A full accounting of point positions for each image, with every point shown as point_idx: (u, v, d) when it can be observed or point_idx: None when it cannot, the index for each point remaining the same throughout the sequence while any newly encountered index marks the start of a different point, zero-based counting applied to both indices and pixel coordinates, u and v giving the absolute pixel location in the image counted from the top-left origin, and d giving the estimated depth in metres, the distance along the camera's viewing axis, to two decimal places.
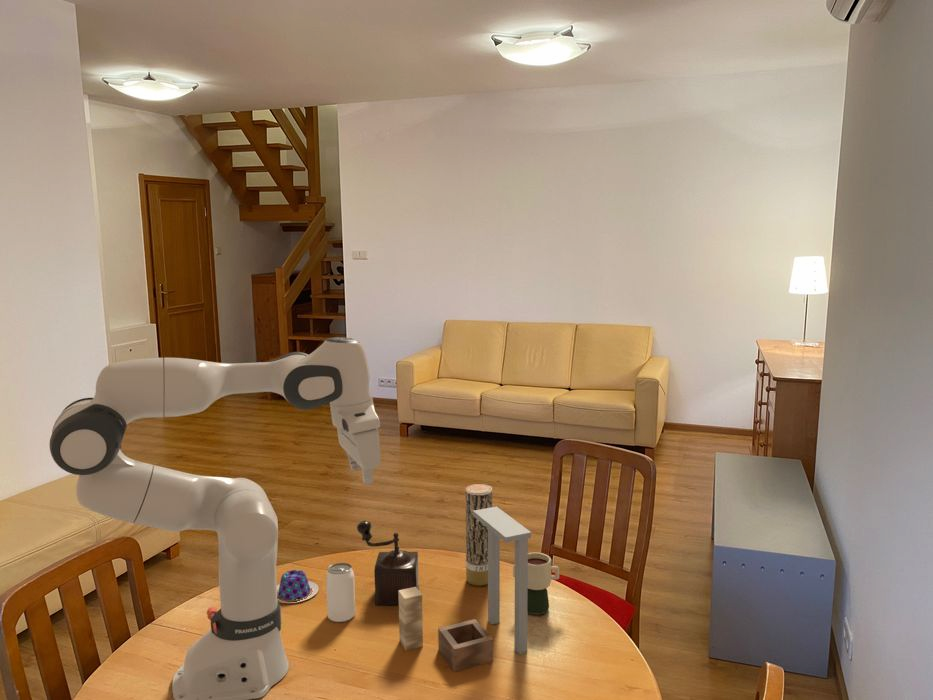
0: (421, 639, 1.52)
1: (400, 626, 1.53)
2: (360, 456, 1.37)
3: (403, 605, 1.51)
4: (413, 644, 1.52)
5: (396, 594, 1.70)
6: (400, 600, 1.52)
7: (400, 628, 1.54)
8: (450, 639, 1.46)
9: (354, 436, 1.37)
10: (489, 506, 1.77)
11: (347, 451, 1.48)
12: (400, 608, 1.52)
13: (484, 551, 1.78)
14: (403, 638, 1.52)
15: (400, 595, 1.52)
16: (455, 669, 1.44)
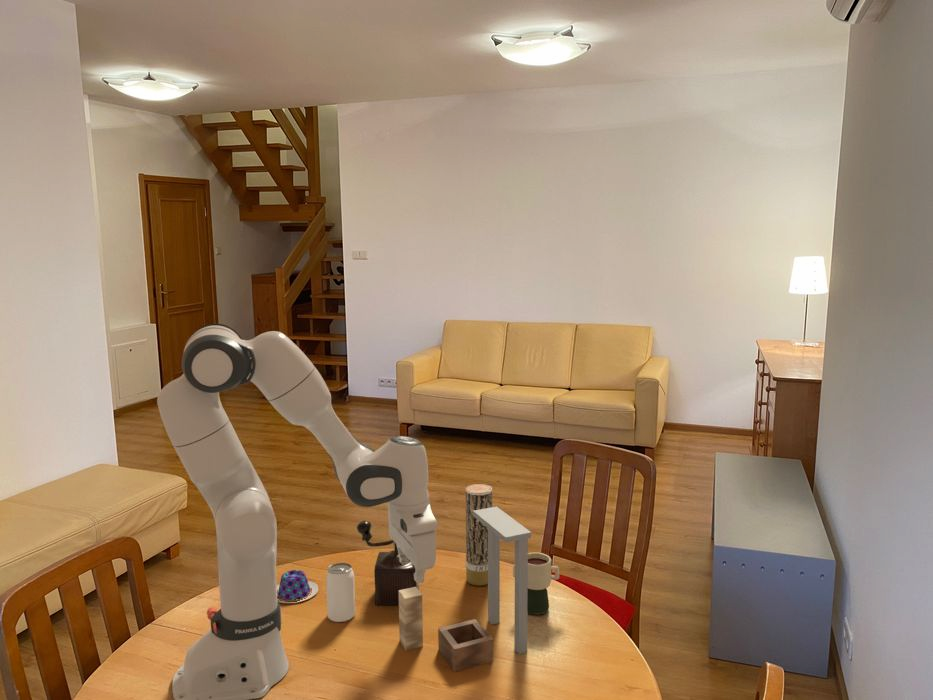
0: (421, 639, 1.52)
1: (400, 626, 1.53)
2: (417, 558, 1.41)
3: (403, 605, 1.51)
4: (413, 644, 1.52)
5: (396, 594, 1.70)
6: (400, 600, 1.52)
7: (400, 628, 1.54)
8: (450, 639, 1.46)
9: (412, 538, 1.41)
10: (489, 506, 1.77)
11: (399, 546, 1.52)
12: (400, 608, 1.52)
13: (484, 551, 1.78)
14: (403, 638, 1.52)
15: (400, 595, 1.52)
16: (455, 669, 1.44)
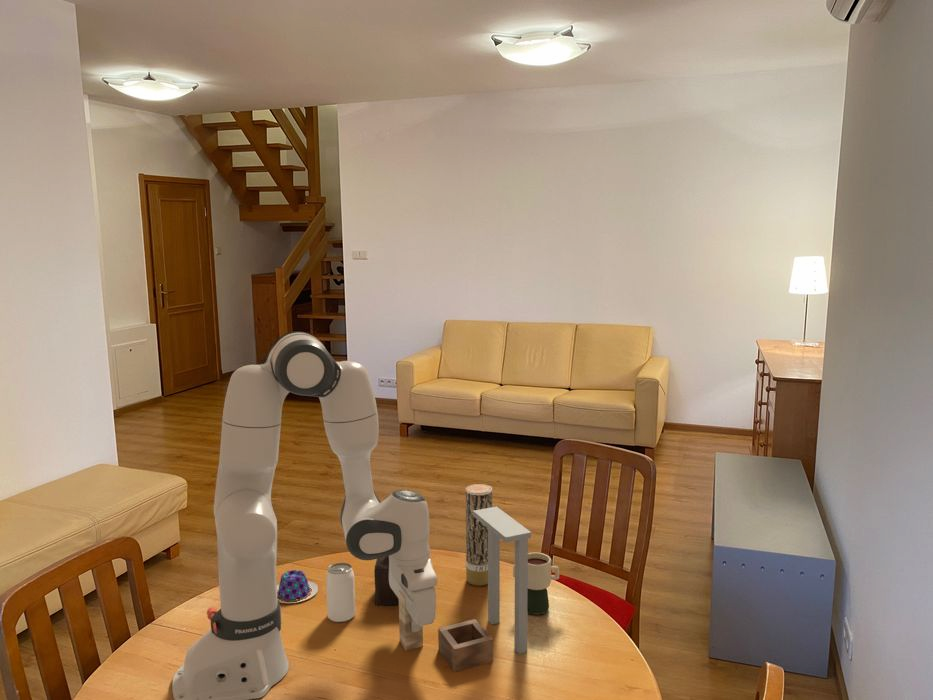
0: (421, 639, 1.52)
1: (400, 626, 1.53)
2: (417, 614, 1.42)
3: (403, 605, 1.51)
4: (413, 644, 1.52)
5: None
6: (400, 600, 1.52)
7: (400, 628, 1.54)
8: (450, 639, 1.46)
9: (413, 594, 1.43)
10: (489, 506, 1.77)
11: None
12: (400, 608, 1.52)
13: (484, 551, 1.78)
14: (403, 638, 1.52)
15: (400, 595, 1.52)
16: (455, 669, 1.44)
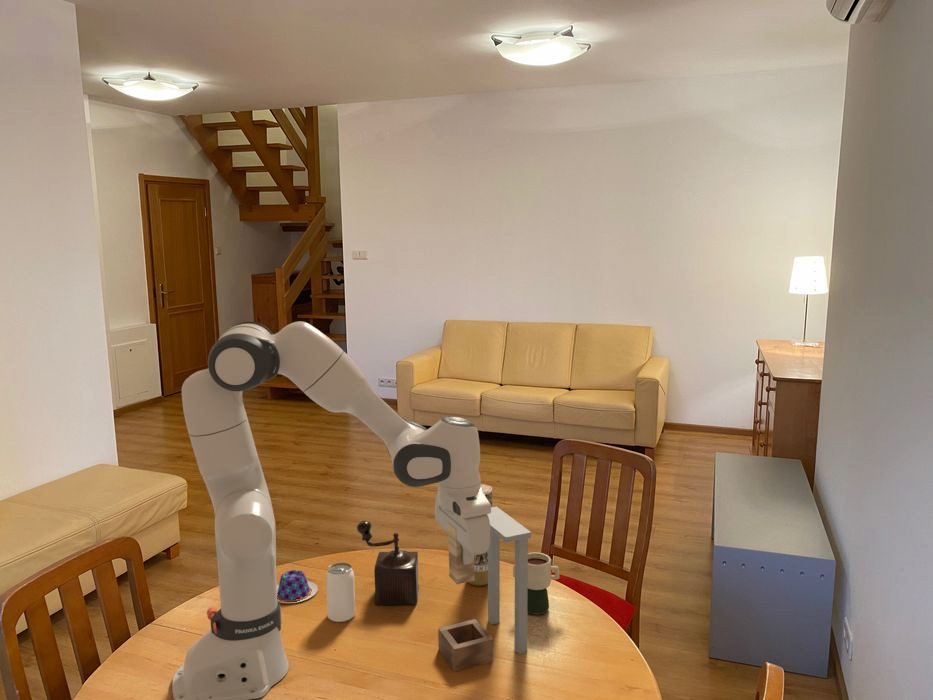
0: (472, 573, 1.46)
1: (450, 560, 1.47)
2: (471, 542, 1.36)
3: (453, 537, 1.44)
4: (464, 577, 1.45)
5: (396, 594, 1.70)
6: (450, 532, 1.46)
7: (449, 562, 1.47)
8: (450, 639, 1.46)
9: (466, 521, 1.36)
10: None
11: None
12: (450, 541, 1.46)
13: None
14: (454, 572, 1.45)
15: (450, 527, 1.45)
16: (455, 669, 1.44)
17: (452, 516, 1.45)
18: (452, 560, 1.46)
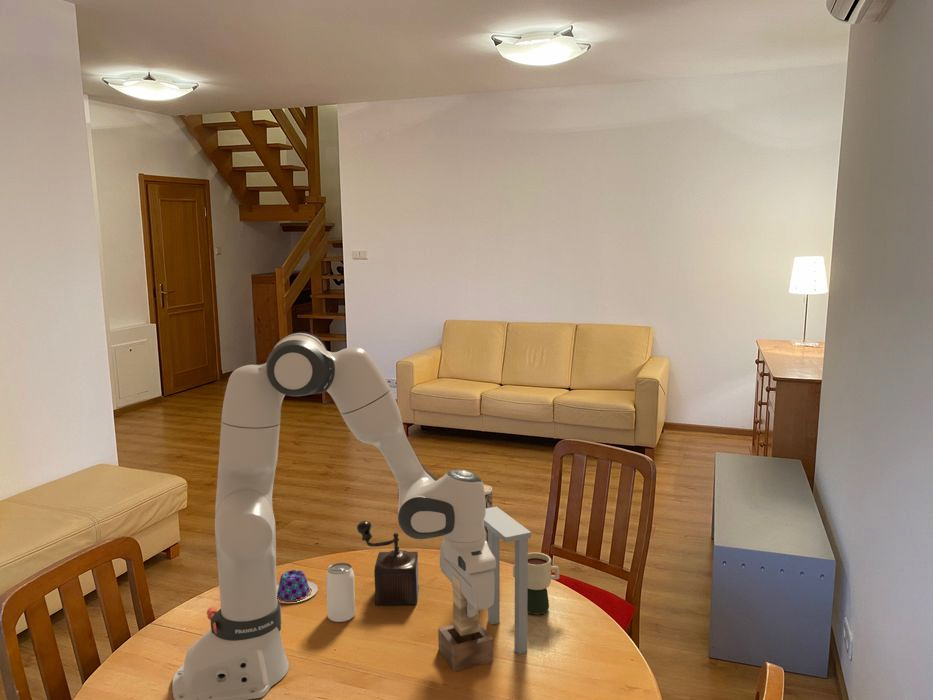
0: (476, 624, 1.47)
1: (454, 611, 1.48)
2: (475, 597, 1.37)
3: (458, 589, 1.45)
4: (468, 629, 1.46)
5: (396, 594, 1.70)
6: (455, 584, 1.47)
7: (454, 613, 1.49)
8: (450, 639, 1.46)
9: (471, 576, 1.37)
10: (489, 506, 1.77)
11: None
12: (455, 592, 1.47)
13: None
14: (458, 623, 1.47)
15: (455, 579, 1.47)
16: (455, 669, 1.44)
17: (457, 568, 1.46)
18: (456, 611, 1.47)
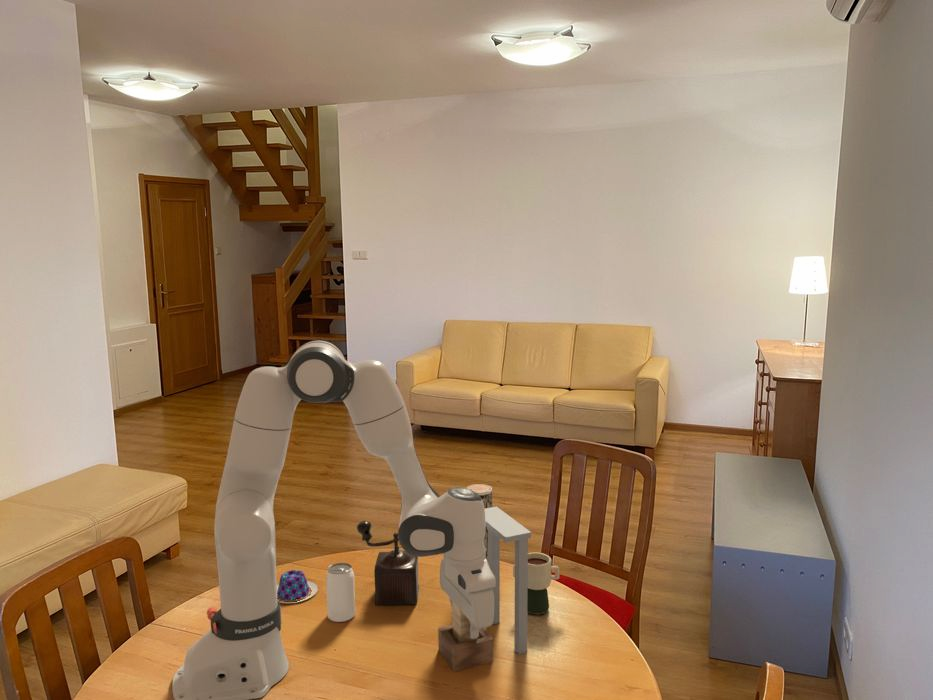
0: None
1: (454, 637, 1.49)
2: (475, 616, 1.38)
3: (458, 616, 1.46)
4: None
5: (396, 594, 1.70)
6: (454, 610, 1.48)
7: None
8: (450, 639, 1.46)
9: (471, 595, 1.38)
10: (489, 506, 1.77)
11: (453, 600, 1.49)
12: (455, 619, 1.48)
13: None
14: None
15: (455, 605, 1.47)
16: (455, 669, 1.44)
17: (457, 586, 1.47)
18: (456, 638, 1.48)
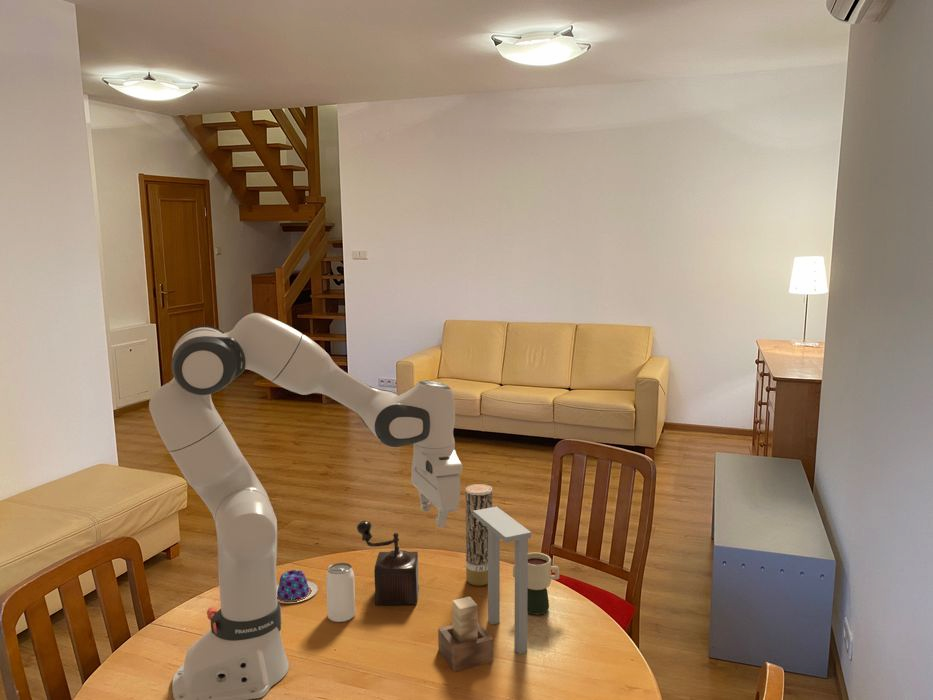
0: None
1: (454, 637, 1.49)
2: (441, 499, 1.41)
3: (458, 616, 1.46)
4: None
5: (396, 594, 1.70)
6: (454, 610, 1.48)
7: None
8: (450, 639, 1.46)
9: (437, 479, 1.41)
10: (489, 506, 1.77)
11: (422, 491, 1.52)
12: (455, 619, 1.48)
13: (484, 551, 1.78)
14: None
15: (455, 605, 1.47)
16: (455, 669, 1.44)
17: (426, 477, 1.50)
18: (456, 638, 1.48)
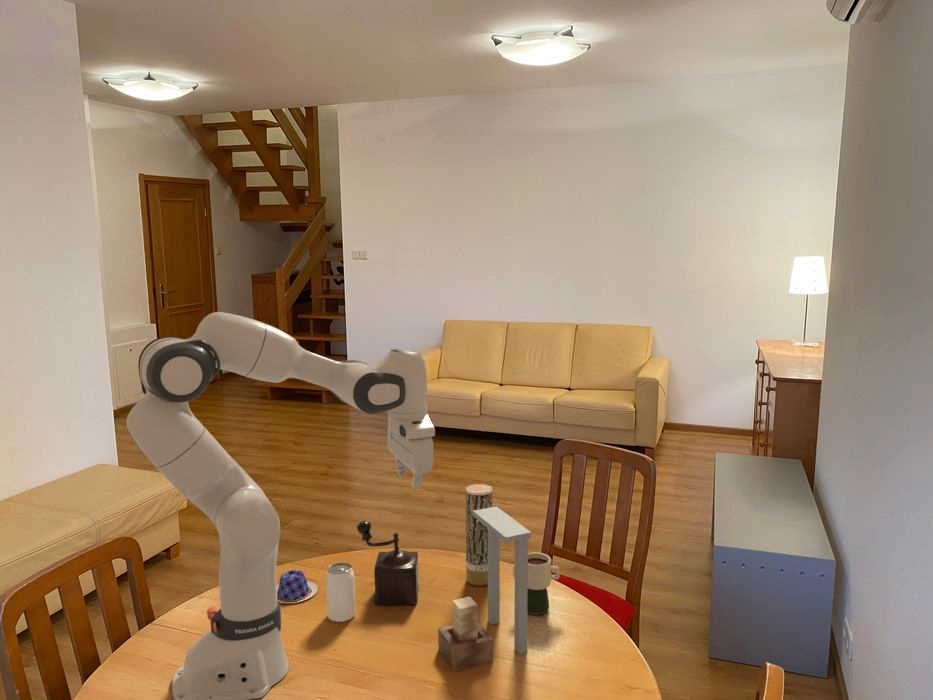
0: None
1: (454, 637, 1.49)
2: (415, 461, 1.46)
3: (458, 616, 1.46)
4: None
5: (396, 594, 1.70)
6: (454, 610, 1.48)
7: None
8: (450, 639, 1.46)
9: (411, 442, 1.47)
10: (489, 506, 1.77)
11: (397, 456, 1.57)
12: (455, 619, 1.48)
13: (484, 551, 1.78)
14: None
15: (455, 605, 1.47)
16: (455, 669, 1.44)
17: (401, 442, 1.55)
18: (456, 638, 1.48)
